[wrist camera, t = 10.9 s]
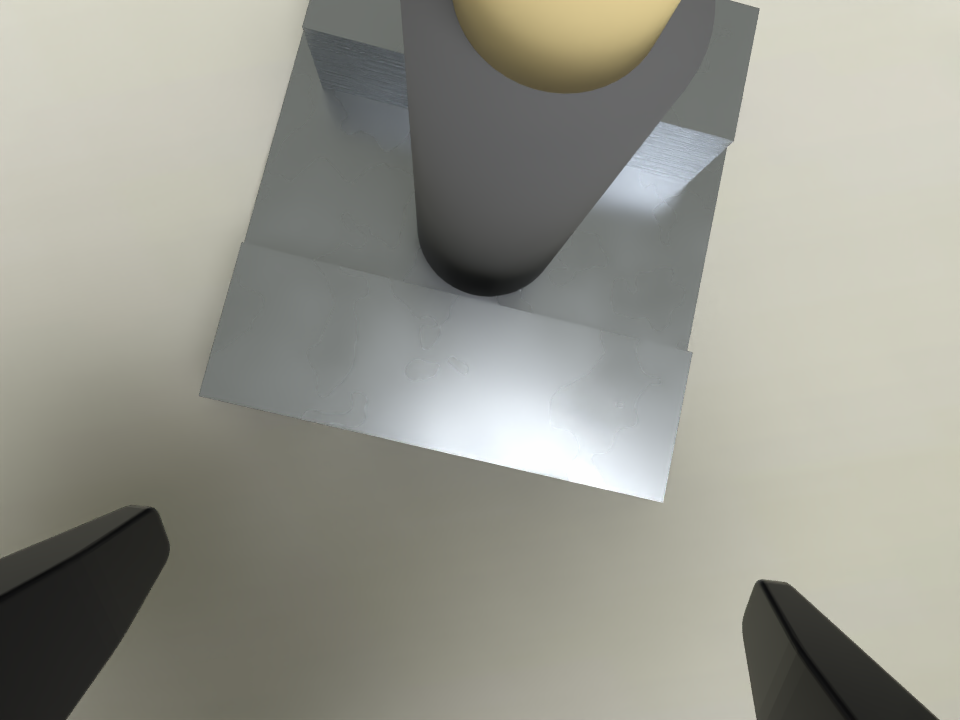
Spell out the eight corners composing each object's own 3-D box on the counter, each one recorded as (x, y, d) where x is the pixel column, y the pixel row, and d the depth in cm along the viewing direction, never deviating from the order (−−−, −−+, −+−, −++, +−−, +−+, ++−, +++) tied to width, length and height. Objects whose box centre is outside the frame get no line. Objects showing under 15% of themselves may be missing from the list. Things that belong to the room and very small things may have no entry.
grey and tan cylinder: (502, 325, 19) (646, 144, 6) (388, 238, 19) (301, -120, 6) (585, 215, 20) (873, -158, 7) (474, 130, 20) (554, -404, 7)
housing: (651, 494, 20) (700, 511, 16) (209, 392, 19) (158, 386, 15) (732, 85, 21) (793, 17, 18) (325, -25, 21) (303, -118, 17)
